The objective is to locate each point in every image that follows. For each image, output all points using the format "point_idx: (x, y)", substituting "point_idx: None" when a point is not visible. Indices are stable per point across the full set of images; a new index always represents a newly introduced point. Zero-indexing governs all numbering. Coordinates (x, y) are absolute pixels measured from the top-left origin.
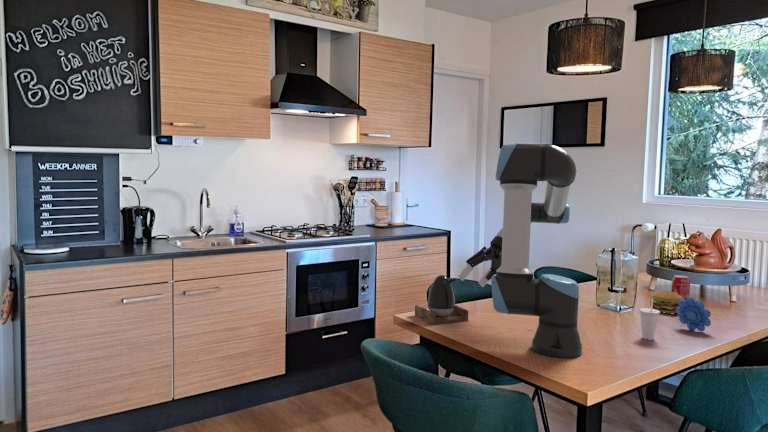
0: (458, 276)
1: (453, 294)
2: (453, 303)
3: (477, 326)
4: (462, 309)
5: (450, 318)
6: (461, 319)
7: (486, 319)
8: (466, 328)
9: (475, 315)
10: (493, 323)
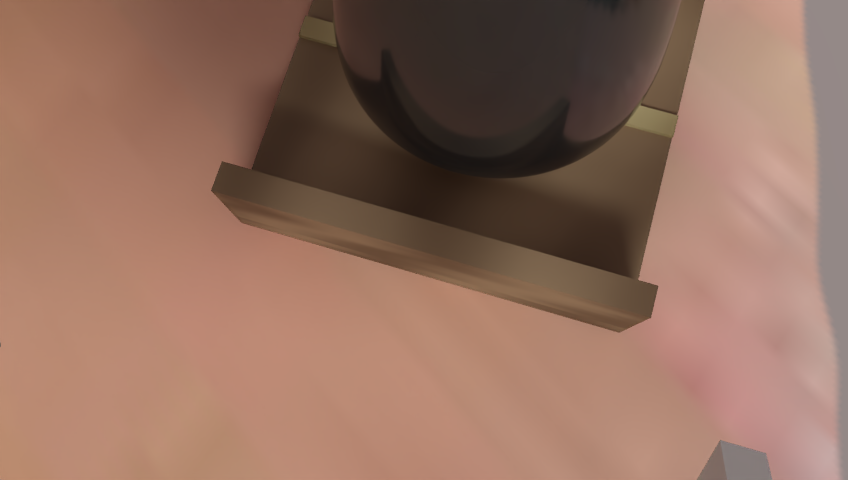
0: (751, 456)
1: (354, 10)
2: (336, 40)
3: (65, 152)
4: (298, 183)
5: None
6: (263, 141)
7: (155, 438)
8: (97, 24)
9: (340, 475)
10: (13, 368)
